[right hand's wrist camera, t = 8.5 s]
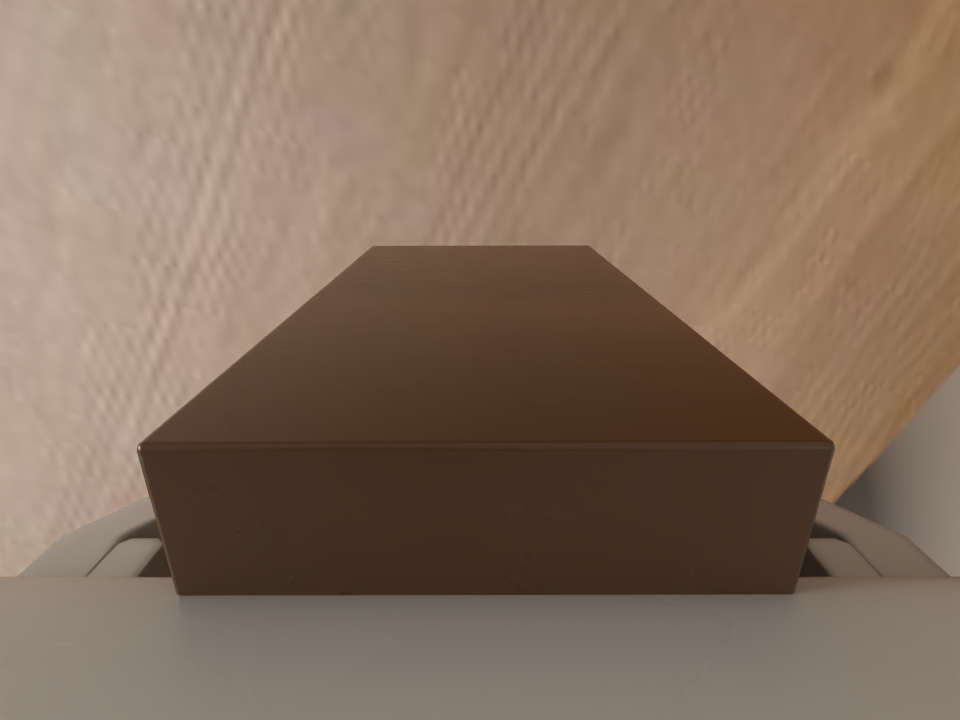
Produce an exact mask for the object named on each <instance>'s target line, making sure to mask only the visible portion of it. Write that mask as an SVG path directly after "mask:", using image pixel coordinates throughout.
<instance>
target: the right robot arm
mask: <svg viewBox="0 0 960 720" xmlns="http://www.w3.org/2000/svg"><path fill="white" fill-rule="evenodd" d="M0 720H960V577H950V576H949V575H948V574H947V573H946V572H945V571H944V570H943V569H942V568H940V567H939V566H938V565H937V564H936V563H935V562H934V561H933V560H932V559H930V558H929V557H928V556H927V555H926V554H925V553H924V552H923V551H922V550H920V549H919V548H918V547H917V546H916V545H915V544H914V543H913V542H911V541H910V540H909V539H908V538H907V537H905V536H903V535H901V534H899V533H896V532H894V531H892V530H890V529H887V528H885V527H883V526H881V525H879V524H876V523H874V522H872V521H870V520H868V519H865V518H863V517H861V516H859V515H856V514H854V513H852V512H850V511H847V510H845V509H843V508H841V507H839V506H836V505H834V504H832V503H830V502H827V501H825V500H823V499H821V500H820V503H819V507H818V511H817V514H816V518H815V521H814V525H813V528H812V532H811V536H810V539H809V543H808V546H807V550H806V553H805V557H804V560H803V564H802V568H801V571H800V575H799V578H798V582H797V585H796V589H795V593H793V594H781V595H258V596H180V595H177V594H176V591H175V587H174V583H173V580H172V576H171V572H170V569H169V565H168V562H167V558H166V554H165V551H164V547H163V543H162V540H161V536H160V532H159V529H158V525H157V522H156V518H155V514H154V511H153V507H152V503H151V500H150V497H148V498H145V499H143V500H141V501H139V502H137V503H134V504H132V505H130V506H128V507H126V508H123V509H121V510H119V511H117V512H115V513H112V514H110V515H108V516H106V517H103V518H101V519H99V520H97V521H95V522H92V523H90V524H88V525H86V526H84V527H81V528H79V529H77V530H75V531H73V532H70V533H68V534H66V535H64V536H62V537H61V538H60V539H58V540H57V541H56V542H55V543H54V544H53V545H52V546H51V547H50V548H48V549H47V550H46V551H45V552H44V553H43V554H42V555H41V556H40V557H39V558H37V559H36V560H35V561H34V562H33V563H32V564H31V565H30V566H29V567H28V568H26V569H25V570H24V571H23V572H22V573H21V574H20V575H19V576H18V577H0Z"/></svg>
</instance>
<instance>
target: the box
mask: <svg viewBox="0 0 960 720" xmlns="http://www.w3.org/2000/svg"><path fill="white" fill-rule="evenodd" d="M834 450H835V447H834V443H833V441H831V440H830V439H829V438H828V437H826V436H825V435H824V434H823V433H821V432H820V431H819V430H818V429H816V428H815V427H814V426H813V425H811V424H810V423H809V422H808V421H806V420H805V419H804V418H803V417H801V416H800V415H799V414H798V413H796V412H795V411H794V410H793V409H791V408H790V407H789V406H788V405H786V404H785V403H784V402H783V401H781V400H780V399H779V398H778V397H776V396H775V395H774V394H773V393H771V392H770V391H769V390H768V389H766V388H765V387H764V386H763V385H762V384H760V383H759V382H758V381H757V380H755V379H754V378H753V377H752V376H750V375H749V374H748V373H747V372H745V371H744V370H743V369H742V368H740V367H739V366H738V365H737V364H735V363H734V362H733V361H732V360H730V359H729V358H728V357H727V356H725V355H724V354H723V353H722V352H720V351H719V350H718V349H717V348H715V347H714V346H713V345H712V344H710V343H709V342H708V341H707V340H705V339H704V338H703V337H702V336H700V335H699V334H698V333H697V332H695V331H694V330H693V329H692V328H691V327H689V326H688V325H687V324H686V323H684V322H683V321H682V320H681V319H679V318H678V317H677V316H676V315H674V314H673V313H672V312H671V311H669V310H668V309H667V308H666V307H664V306H663V305H662V304H661V303H659V302H658V301H657V300H656V299H654V298H653V297H652V296H651V295H649V294H648V293H647V292H646V291H644V290H643V289H642V288H641V287H639V286H638V285H637V284H636V283H634V282H633V281H632V280H631V279H629V278H628V277H627V276H626V275H625V274H623V273H622V272H621V271H620V270H618V269H617V268H616V267H615V266H613V265H612V264H611V263H610V262H608V261H607V260H606V259H605V258H603V257H602V256H601V255H600V254H598V253H597V252H596V251H595V250H593V249H592V248H591V247H590V246H373V247H371V248H370V249H369V250H368V251H367V252H365V253H364V254H363V255H362V256H361V257H359V258H358V259H357V260H356V261H355V262H354V263H352V264H351V265H350V266H349V267H348V268H346V269H345V270H344V271H343V272H342V273H341V274H339V275H338V276H337V277H336V278H335V279H333V280H332V281H331V282H330V283H329V284H328V285H326V286H325V287H324V288H323V289H322V290H320V291H319V292H318V293H317V294H316V295H315V296H313V297H312V298H311V299H310V300H309V301H307V302H306V303H305V304H304V305H303V306H301V307H300V308H299V309H298V310H297V311H296V312H294V313H293V314H292V315H291V316H290V317H288V318H287V319H286V320H285V321H284V322H283V323H281V324H280V325H279V326H278V327H277V328H275V329H274V330H273V331H272V332H271V333H270V334H268V335H267V336H266V337H265V338H264V339H262V340H261V341H260V342H259V343H258V344H257V345H255V346H254V347H253V348H252V349H251V350H249V351H248V352H247V353H246V354H245V355H243V356H242V357H241V358H240V359H239V360H238V361H236V362H235V363H234V364H233V365H232V366H230V367H229V368H228V369H227V370H226V371H225V372H223V373H222V374H221V375H220V376H219V377H217V378H216V379H215V380H214V381H213V382H212V383H210V384H209V385H208V386H207V387H206V388H204V389H203V390H202V391H201V392H200V393H198V394H197V395H196V396H195V397H194V398H193V399H191V400H190V401H189V402H188V403H187V404H185V405H184V406H183V407H182V408H181V409H180V410H178V411H177V412H176V413H175V414H174V415H172V416H171V417H170V418H169V419H168V420H167V421H165V422H164V423H163V424H162V425H161V426H159V427H158V428H157V429H156V430H155V431H154V432H152V433H151V434H150V435H149V436H148V437H146V438H145V439H144V440H143V441H142V442H140V443H139V445H138V448H137V453H138V456H139V460H140V463H141V467H142V471H143V474H144V478H145V482H146V485H147V489H148V492H149V496H150V500H151V503H152V507H153V511H154V514H155V518H156V522H157V525H158V529H159V532H160V536H161V540H162V543H163V547H164V551H165V554H166V558H167V562H168V565H169V569H170V572H171V576H172V580H173V583H174V587H175V591H176V594H177V595H180V596H258V595H781V594H793V593H795V589H796V585H797V582H798V578H799V575H800V571H801V568H802V564H803V560H804V557H805V553H806V550H807V546H808V543H809V539H810V536H811V532H812V528H813V525H814V521H815V518H816V514H817V511H818V507H819V503H820V500H821V496H822V493H823V489H824V486H825V482H826V479H827V475H828V471H829V468H830V464H831V461H832V457H833V454H834Z"/></svg>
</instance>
